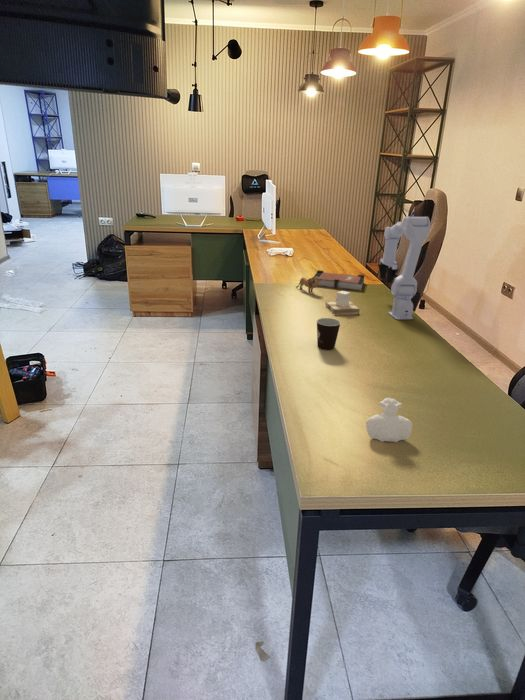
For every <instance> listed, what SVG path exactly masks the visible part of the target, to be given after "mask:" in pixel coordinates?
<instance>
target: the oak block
mask: <svg viewBox="0 0 525 700" xmlns="http://www.w3.org/2000/svg"><path fill="white" fill-rule="evenodd" d="M325 306H326V307H327V308H328V309H329V310H330V311H331V312H332V313H333V314H332V313H331V312H330V311H329V312H330V313H331V314H332V315H334V314H341V315H342V314H348V315H359V314H360V310H361V309H360V308H359V307H358V306H357V305H355V304H354V303H353V302H352V301H350V300H349V305H348V306H346V307H341V306H338V305H336V300H335V301H334V300H333V301H330V300H329V301H325ZM325 306H324V307H325ZM326 307H325V308H326ZM327 308H326V309H327ZM328 309H327V310H328ZM341 315H340V316H341ZM342 316H343V315H342Z"/></svg>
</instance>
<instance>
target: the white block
mask: <svg viewBox="0 0 525 700" xmlns="http://www.w3.org/2000/svg"><path fill="white" fill-rule="evenodd" d="M335 297H336V299H335V301H336V305H338V306H341V307H346V306H348V305H349V301H350V298H351V292H349V291H345V290H341V291H337V292H336V296H335Z"/></svg>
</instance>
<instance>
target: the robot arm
mask: <svg viewBox="0 0 525 700" xmlns="http://www.w3.org/2000/svg"><path fill="white" fill-rule="evenodd" d="M430 228H431V221H430V218H429V216H409V215H405V217H403V220H402V221H397V222H396V223H395V224H393V225H392V226H386V227H385V229H384V234H383V235H384V239H385V240H384V248H383V249H384V250H383V255H382V258H380V260H379V263H378V264H377V267H378V270H379V277H380V278H379V279H381V280H382V279H386V283H387V284H391V283H392V282H393V283H392V285H391V286H390V292H391V295H392V296H393V303H392V309H391V311H388V312H387V313H388V314H389V315H390V316H391V317H392V318H394V319H395V320H398V321H399V320H414V317H413V313H414V311H413V310H414V303H413V301H412V299H413V297H415V295H416V294H417V291H418V289H417V288H418V281H417V280H416V278H415V277H414V274H415V273H416V272H415V271H416V268H417V265H418V262H419V261H418V260H419V257H420V255H421V251H422V247H423V244H424V241H426V240H427V238H428V235H429V232H430ZM403 235H404V236H405V238H406V239H407V240H408V241H409V245H408V248H407V253H406V256H405V259H404V264H403V267H402V271H401V274H400V275H398V276H397V277H396V274H397V273H398V272H399V269H398V264H397V263H398V262H397V261H396V256H397V248H398V244H399V243H400V239H401V237H402V236H403Z"/></svg>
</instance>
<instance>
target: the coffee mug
mask: <svg viewBox="0 0 525 700" xmlns="http://www.w3.org/2000/svg"><path fill="white" fill-rule="evenodd" d="M340 326H341V321H339V320H338V319H336V318H331V317H321V318H318V319H317V320H316V339H317V348H318V347H319V348H318V349H320V350H324V351H333V350H335V347H336V343H337V339H338V335H339V331H340Z"/></svg>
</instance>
